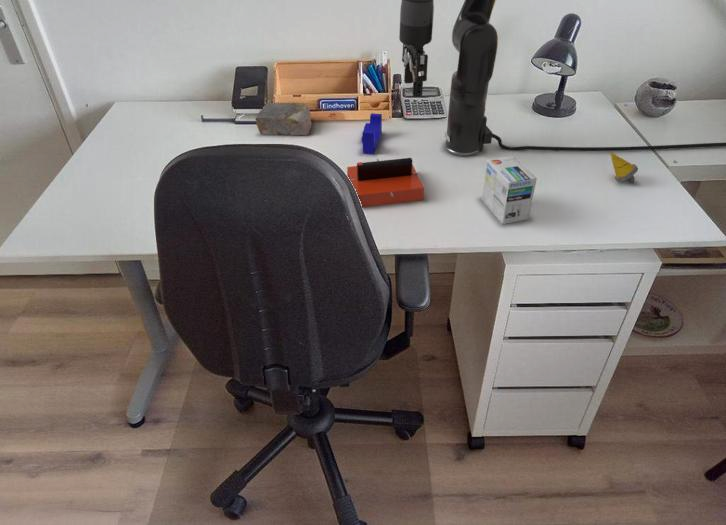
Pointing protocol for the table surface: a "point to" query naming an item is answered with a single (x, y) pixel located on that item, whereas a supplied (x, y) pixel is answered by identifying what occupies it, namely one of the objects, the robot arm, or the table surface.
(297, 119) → the geological specimen
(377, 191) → the red flat rectangular block
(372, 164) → the black divider wall
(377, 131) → the cable clip
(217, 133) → the table surface
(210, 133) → the table surface
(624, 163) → the yellow cone
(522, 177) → the light bulb box
